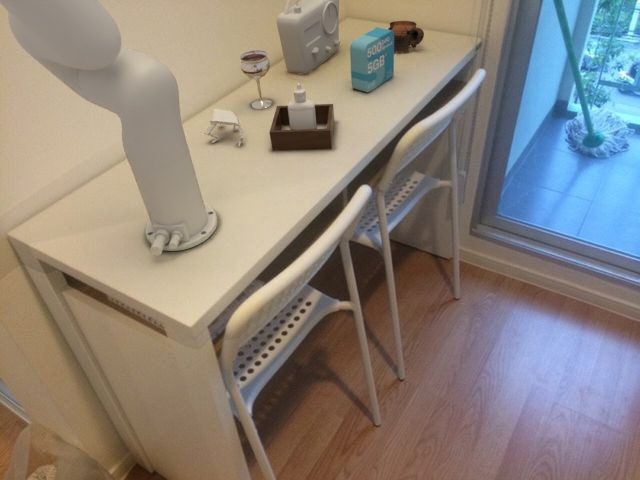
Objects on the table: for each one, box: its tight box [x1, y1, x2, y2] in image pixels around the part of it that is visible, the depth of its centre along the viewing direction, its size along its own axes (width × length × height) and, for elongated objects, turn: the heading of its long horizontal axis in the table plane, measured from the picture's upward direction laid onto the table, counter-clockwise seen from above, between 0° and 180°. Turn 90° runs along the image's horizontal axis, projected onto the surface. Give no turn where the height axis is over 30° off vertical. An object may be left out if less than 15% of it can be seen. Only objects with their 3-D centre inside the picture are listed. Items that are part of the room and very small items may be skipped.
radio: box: [276, 0, 341, 75], centre depth 138 cm, size 22×8×25 cm, turn 150°
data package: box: [349, 27, 395, 93], centre depth 129 cm, size 12×4×12 cm, turn 140°
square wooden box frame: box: [269, 103, 335, 152], centre depth 114 cm, size 12×13×4 cm
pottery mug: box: [387, 20, 425, 53], centre depth 147 cm, size 12×10×8 cm
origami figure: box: [203, 108, 245, 147], centre depth 116 cm, size 12×8×5 cm
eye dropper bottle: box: [287, 83, 318, 130], centre depth 112 cm, size 4×6×12 cm
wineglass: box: [239, 49, 272, 110], centre depth 125 cm, size 7×7×12 cm
